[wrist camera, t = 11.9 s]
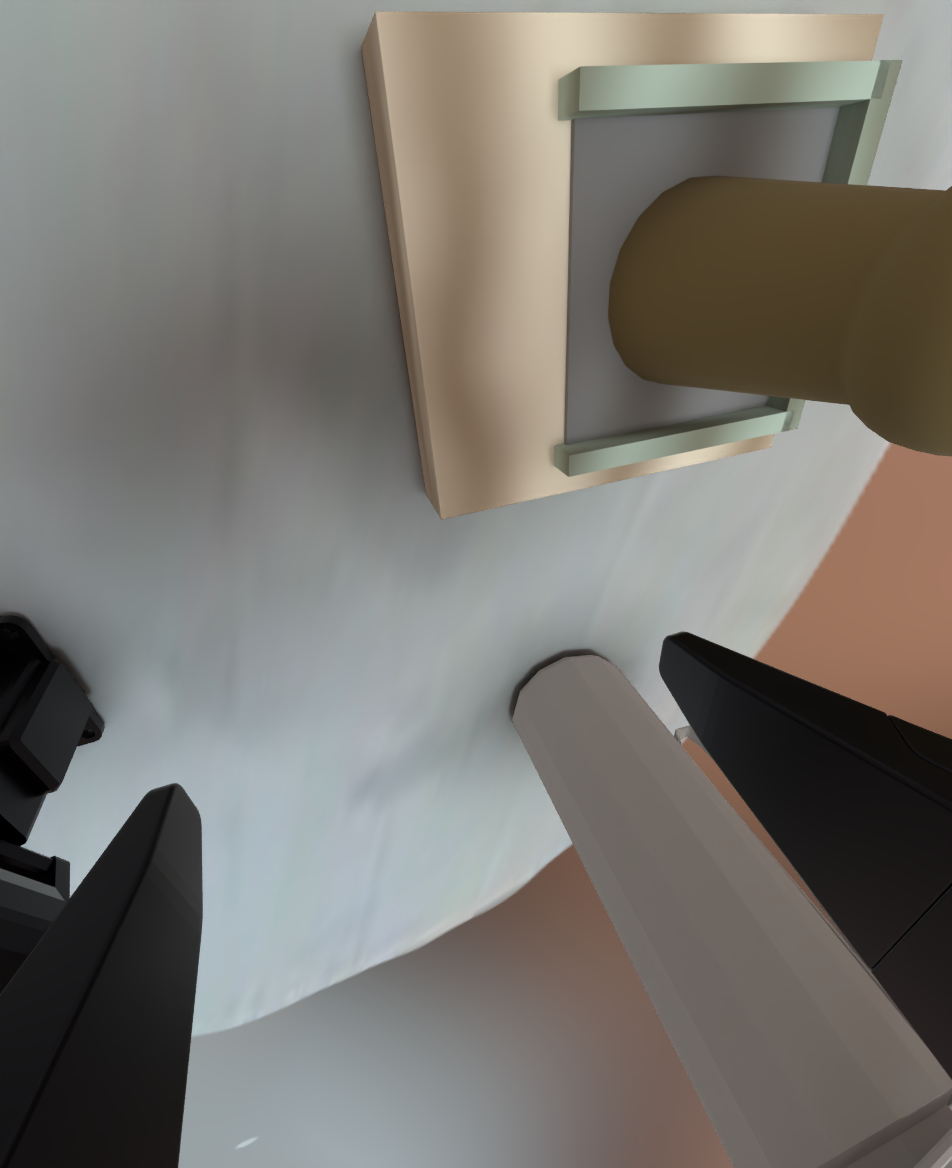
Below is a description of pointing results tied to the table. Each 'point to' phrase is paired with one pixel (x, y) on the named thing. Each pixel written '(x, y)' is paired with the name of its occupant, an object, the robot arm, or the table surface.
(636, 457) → the dock
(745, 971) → the water bottle
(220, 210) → the table surface
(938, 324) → the cork
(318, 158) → the table surface
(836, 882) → the robot arm
